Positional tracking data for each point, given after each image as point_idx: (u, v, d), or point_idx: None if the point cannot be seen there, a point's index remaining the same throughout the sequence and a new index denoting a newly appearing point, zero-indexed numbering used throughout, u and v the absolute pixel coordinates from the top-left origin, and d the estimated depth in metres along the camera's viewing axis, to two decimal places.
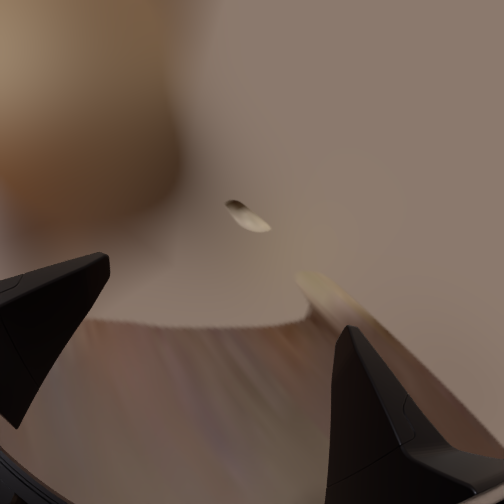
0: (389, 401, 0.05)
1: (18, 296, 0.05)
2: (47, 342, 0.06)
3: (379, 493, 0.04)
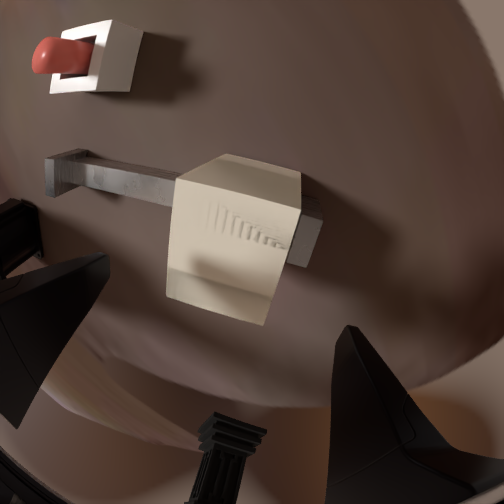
0: (389, 401, 0.05)
1: (18, 296, 0.05)
2: (47, 342, 0.06)
3: (379, 493, 0.04)
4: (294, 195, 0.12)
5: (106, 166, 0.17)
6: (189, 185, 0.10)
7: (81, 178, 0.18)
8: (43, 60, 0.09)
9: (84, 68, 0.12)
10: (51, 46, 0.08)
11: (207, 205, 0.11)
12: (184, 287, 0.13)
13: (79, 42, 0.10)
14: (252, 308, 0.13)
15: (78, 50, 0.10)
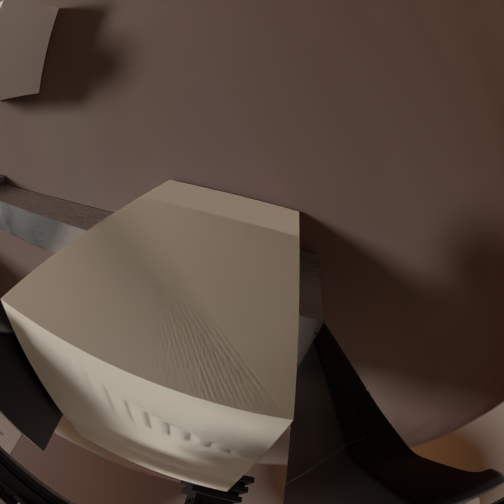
0: (342, 396, 0.05)
1: None
2: None
3: (326, 495, 0.04)
4: (281, 326, 0.04)
5: (13, 203, 0.10)
6: (22, 319, 0.03)
7: None
8: None
9: None
10: None
11: (64, 365, 0.03)
12: (95, 438, 0.05)
13: None
14: (205, 481, 0.05)
15: None
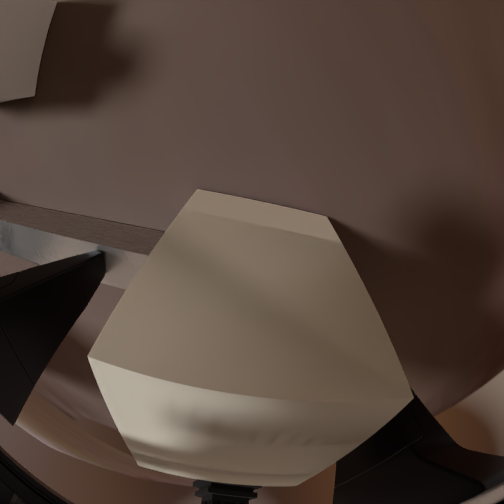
0: None
1: (14, 293, 0.05)
2: (42, 339, 0.07)
3: (388, 492, 0.04)
4: (373, 328, 0.05)
5: (11, 219, 0.09)
6: (128, 375, 0.03)
7: None
8: None
9: None
10: None
11: (186, 411, 0.04)
12: (166, 467, 0.06)
13: None
14: (282, 481, 0.06)
15: None
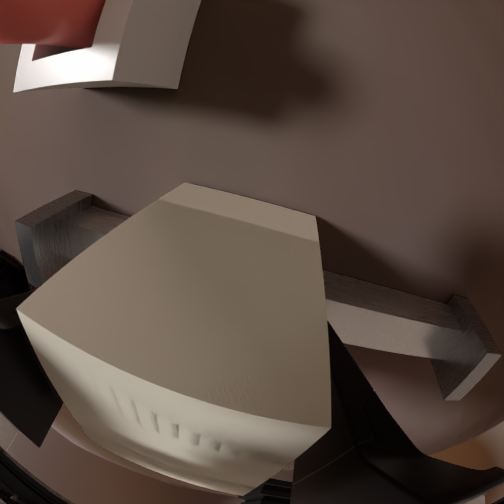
0: (350, 397, 0.05)
1: None
2: None
3: (335, 495, 0.04)
4: (312, 334, 0.04)
5: None
6: (41, 330, 0.03)
7: None
8: None
9: (85, 33, 0.05)
10: None
11: (87, 377, 0.03)
12: (110, 446, 0.05)
13: None
14: (223, 487, 0.05)
15: None
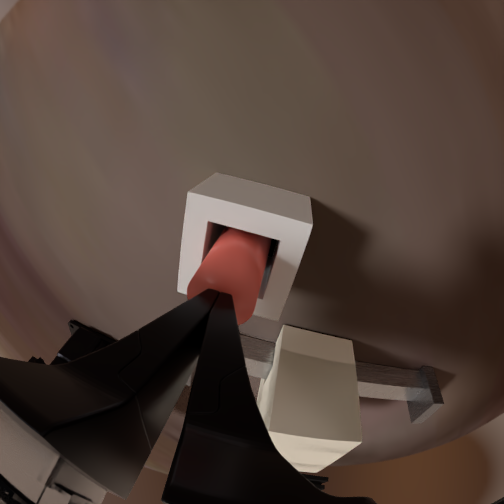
0: (209, 366, 0.05)
1: (155, 368, 0.05)
2: (168, 403, 0.06)
3: None
4: (355, 415, 0.12)
5: (256, 357, 0.17)
6: (280, 434, 0.11)
7: None
8: None
9: None
10: (243, 296, 0.09)
11: (292, 441, 0.11)
12: None
13: (257, 250, 0.11)
14: (311, 468, 0.13)
15: (263, 272, 0.11)
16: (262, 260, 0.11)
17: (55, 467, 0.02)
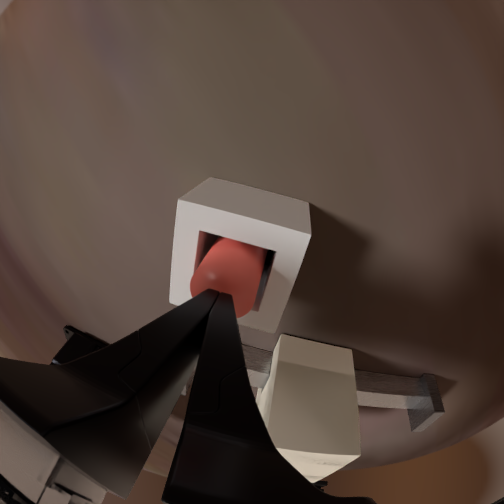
0: (209, 366, 0.05)
1: (155, 368, 0.05)
2: (168, 403, 0.06)
3: None
4: (354, 427, 0.11)
5: (253, 367, 0.17)
6: (276, 448, 0.10)
7: None
8: None
9: None
10: (243, 289, 0.09)
11: (289, 455, 0.10)
12: None
13: (257, 246, 0.11)
14: (309, 479, 0.12)
15: (262, 267, 0.11)
16: (262, 256, 0.11)
17: (55, 467, 0.02)
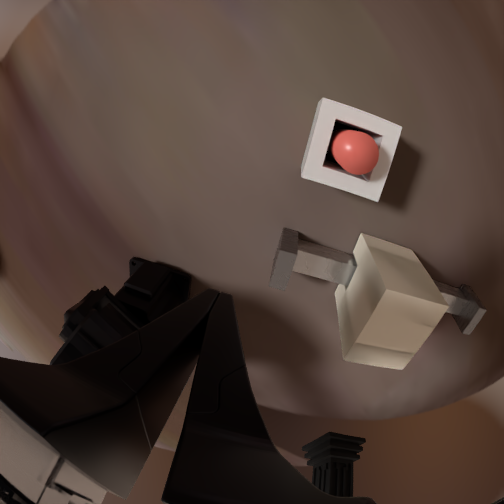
0: (209, 366, 0.05)
1: (156, 368, 0.05)
2: (168, 403, 0.06)
3: None
4: (436, 289, 0.15)
5: (341, 261, 0.20)
6: (393, 293, 0.14)
7: (307, 268, 0.21)
8: (359, 161, 0.13)
9: None
10: (372, 150, 0.13)
11: (400, 305, 0.14)
12: (361, 353, 0.16)
13: None
14: (401, 360, 0.16)
15: None
16: None
17: (55, 467, 0.02)
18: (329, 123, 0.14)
